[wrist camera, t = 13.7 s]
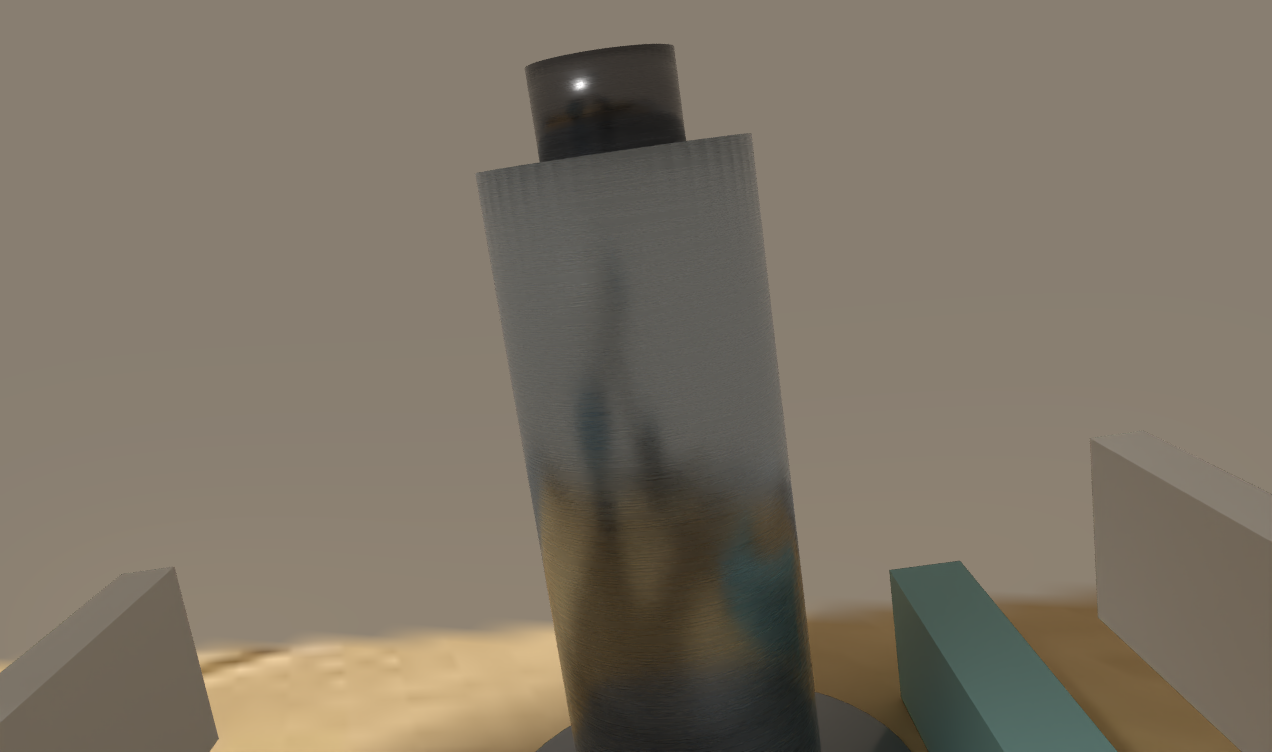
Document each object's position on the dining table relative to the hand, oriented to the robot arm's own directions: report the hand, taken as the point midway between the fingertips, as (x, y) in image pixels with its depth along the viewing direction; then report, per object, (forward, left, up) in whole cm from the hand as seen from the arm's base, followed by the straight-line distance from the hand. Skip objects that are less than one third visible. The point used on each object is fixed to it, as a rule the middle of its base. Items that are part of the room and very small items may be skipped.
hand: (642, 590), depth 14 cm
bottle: (0, +9, -10) cm, 13 cm away
